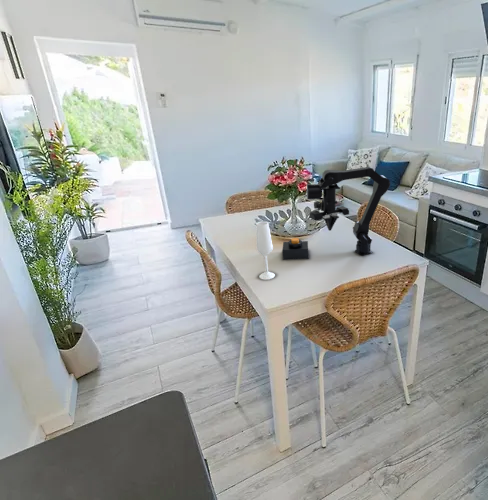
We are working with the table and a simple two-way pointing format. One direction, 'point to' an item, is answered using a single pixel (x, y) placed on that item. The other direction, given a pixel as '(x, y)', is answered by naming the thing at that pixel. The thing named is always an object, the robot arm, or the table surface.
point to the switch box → (295, 250)
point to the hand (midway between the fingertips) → (329, 230)
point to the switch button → (295, 240)
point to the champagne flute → (264, 246)
